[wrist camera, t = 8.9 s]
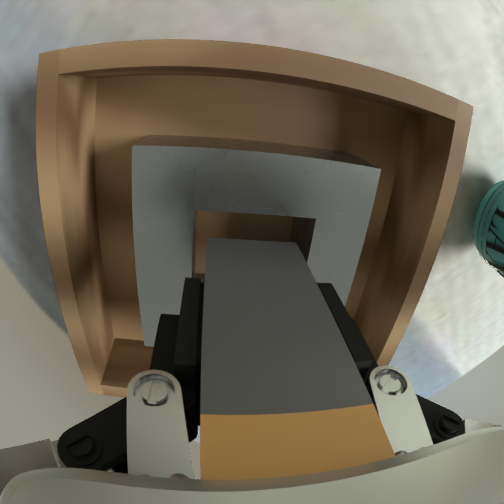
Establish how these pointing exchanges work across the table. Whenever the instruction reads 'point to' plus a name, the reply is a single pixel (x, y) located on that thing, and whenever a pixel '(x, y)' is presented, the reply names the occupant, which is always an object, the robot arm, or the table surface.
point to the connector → (277, 371)
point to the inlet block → (242, 208)
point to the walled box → (235, 127)
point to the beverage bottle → (491, 227)
